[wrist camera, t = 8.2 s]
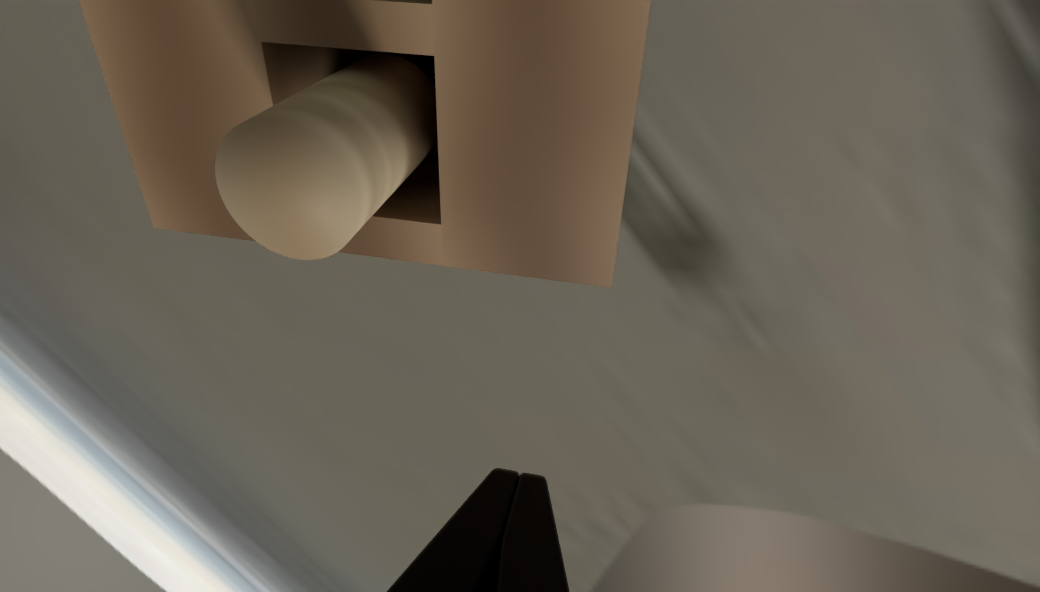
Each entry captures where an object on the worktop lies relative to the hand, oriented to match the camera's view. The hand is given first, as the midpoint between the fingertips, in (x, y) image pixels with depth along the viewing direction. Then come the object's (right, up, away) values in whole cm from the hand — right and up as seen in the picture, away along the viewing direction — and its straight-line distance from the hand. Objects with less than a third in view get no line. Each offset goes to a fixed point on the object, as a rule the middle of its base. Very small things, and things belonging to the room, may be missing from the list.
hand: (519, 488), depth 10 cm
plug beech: (-4, +8, +8) cm, 12 cm away
